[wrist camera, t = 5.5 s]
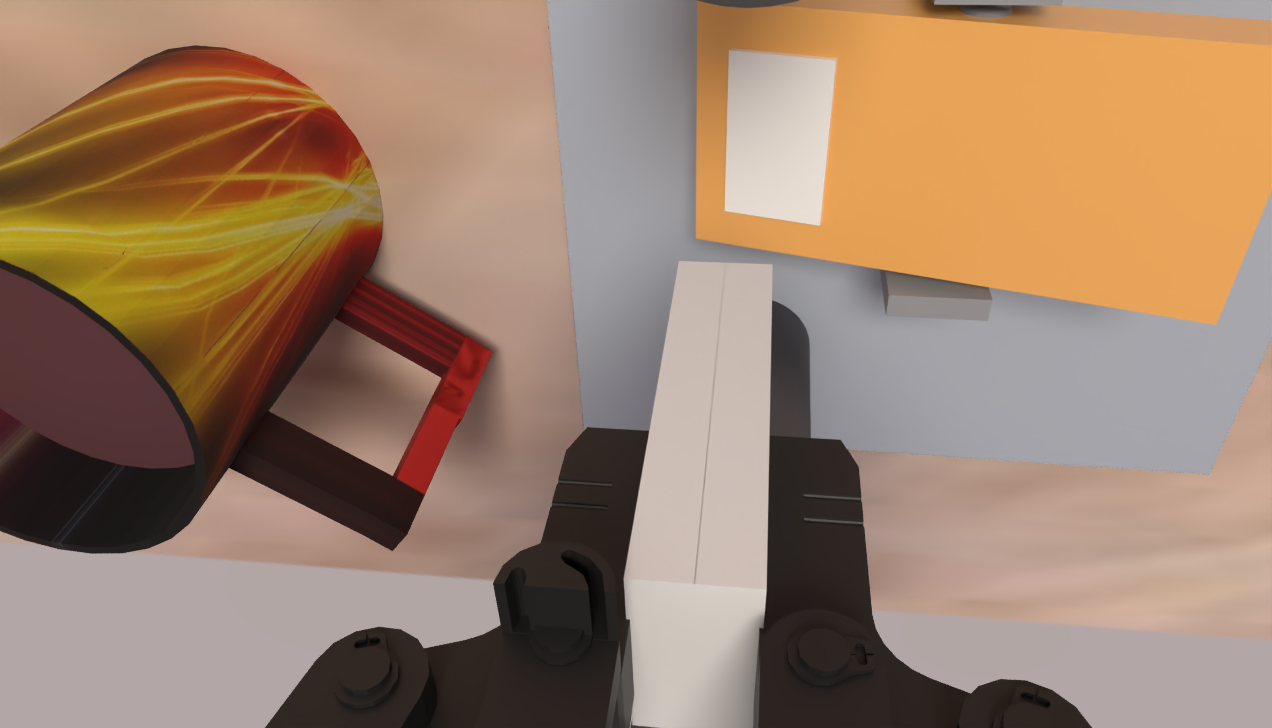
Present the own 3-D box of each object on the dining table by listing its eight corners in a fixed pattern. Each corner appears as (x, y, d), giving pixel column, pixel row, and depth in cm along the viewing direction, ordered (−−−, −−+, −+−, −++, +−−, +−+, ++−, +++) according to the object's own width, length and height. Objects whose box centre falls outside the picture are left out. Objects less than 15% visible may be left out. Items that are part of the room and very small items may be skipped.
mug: (499, 350, 34) (385, 615, 25) (136, 281, 35) (-113, 515, 25) (512, 99, 28) (367, 321, 19) (73, 20, 29) (-283, 198, 19)
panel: (599, 378, 34) (560, 516, 29) (536, -511, 20) (434, -575, 14) (1178, 413, 32) (1258, 573, 26) (1588, -580, 17) (1956, -690, 12)
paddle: (714, 214, 25) (694, 244, 24) (719, -25, 22) (695, -4, 20) (1208, 291, 22) (1215, 332, 20) (1317, 18, 18) (1333, 47, 17)
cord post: (692, 387, 30) (629, 810, 19) (692, 293, 28) (621, 709, 17) (805, 394, 30) (807, 832, 19) (814, 299, 28) (823, 731, 16)
